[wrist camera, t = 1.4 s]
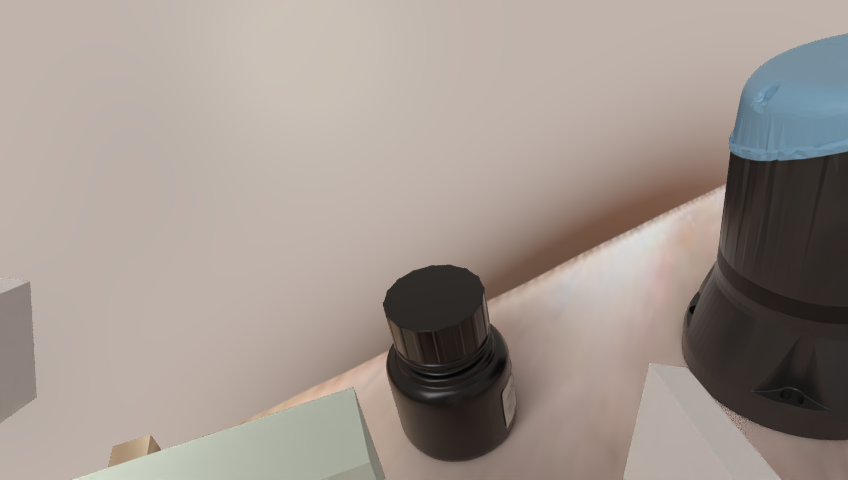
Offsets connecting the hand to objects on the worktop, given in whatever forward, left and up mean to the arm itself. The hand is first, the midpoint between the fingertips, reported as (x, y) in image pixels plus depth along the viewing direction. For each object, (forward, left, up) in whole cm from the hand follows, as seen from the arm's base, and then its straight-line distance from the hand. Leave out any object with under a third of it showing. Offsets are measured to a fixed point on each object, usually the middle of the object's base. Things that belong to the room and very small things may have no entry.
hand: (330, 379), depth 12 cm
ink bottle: (-5, -20, -27) cm, 35 cm away
